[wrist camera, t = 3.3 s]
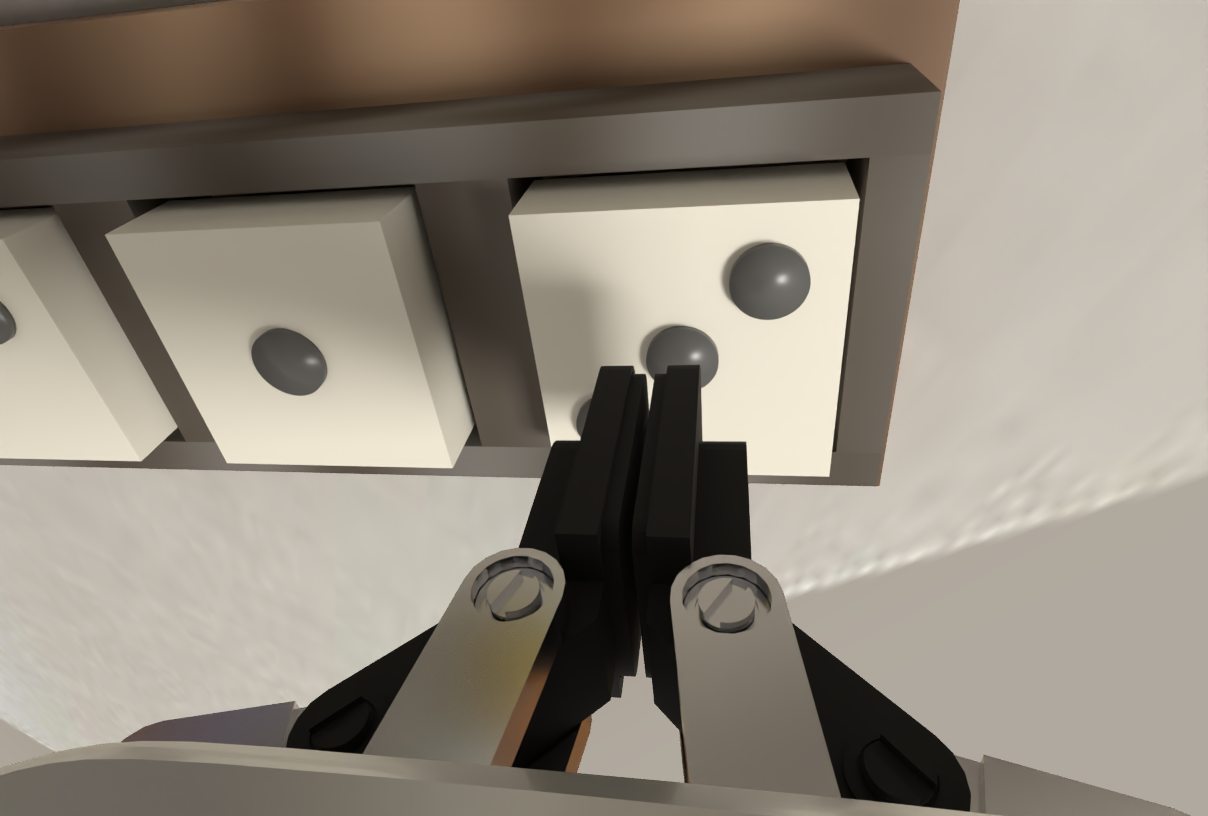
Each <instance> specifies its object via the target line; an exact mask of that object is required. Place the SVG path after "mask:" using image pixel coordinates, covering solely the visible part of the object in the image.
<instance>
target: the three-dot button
mask: <svg viewBox="0 0 1208 816" xmlns="http://www.w3.org/2000/svg"><path fill="white" fill-rule="evenodd" d="M859 201H860V198H859V196H858V193H857V191H856V189H855V186H854V184H853V181H852V179H851V177H850V174H849V172H848V170H847V167H846V165H845V162H842V163H824V164H807V165H789V166H772V167H754V168H736V169H719V170H701V171H683V172H666V173H648V174H631V175H613V176H595V177H578V178H560V179H542V180H534V181H533V182H532V184H531V185H530V187H529V188H528V189H527V191H526V192H525V193H524V195H523V196H522V198H521V199H520V200H519V202H518V203H517V204H516V206H515V207H514V208H513V210H512V211H511V213H510V214H509V215H508V216H509V221H510V227H511V232H512V237H513V243H514V248H515V254H516V259H517V264H518V270H519V275H520V281H521V286H522V291H523V297H524V302H525V307H526V313H527V318H528V324H529V329H530V334H531V340H532V345H533V351H534V356H535V361H536V367H537V372H538V377H539V383H540V388H541V394H542V399H543V404H544V410H545V415H546V421H547V426H548V431H549V437H550V442H551V447H552V445H553V443H554V442H555V441H556V440H580V439H581V435H582V432H583V428H584V424H585V421H586V417H587V414H588V410H589V406H590V403H591V399H592V395H593V392H594V388H595V384H596V381H597V377H598V374H599V370H600V367H601V366H634V370H635V374H646V377H647V388H648V400H649V410H650V403H651V397H652V390H653V383H654V377H655V374H666V373H667V366H668V365H700V368H701V402H702V440H703V441H745V442H746V445H747V467H748V475H777V476H821V477H829V474H830V465H831V456H832V447H833V438H834V429H835V420H836V411H837V402H838V393H839V383H840V374H841V365H842V356H843V347H844V338H845V329H846V320H847V311H848V301H849V292H850V283H851V274H852V265H853V256H854V247H855V238H856V229H857V220H858V210H859Z"/></svg>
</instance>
